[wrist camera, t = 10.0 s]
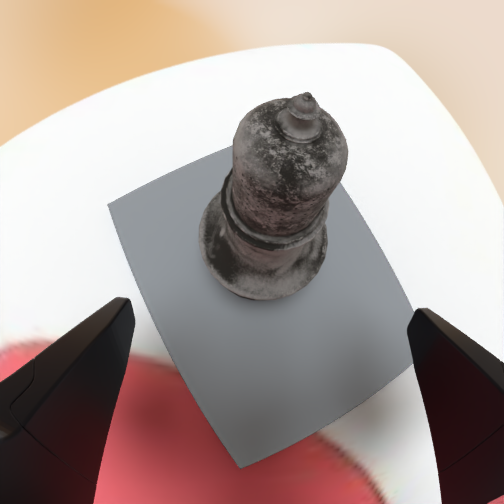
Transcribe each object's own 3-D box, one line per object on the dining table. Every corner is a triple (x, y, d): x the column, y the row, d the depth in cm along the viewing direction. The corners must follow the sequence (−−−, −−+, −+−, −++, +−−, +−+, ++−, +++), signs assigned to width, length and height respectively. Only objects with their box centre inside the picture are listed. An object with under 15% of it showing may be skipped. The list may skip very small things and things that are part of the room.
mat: (426, 347, 16) (430, 348, 15) (239, 466, 13) (240, 469, 13) (295, 125, 19) (296, 122, 19) (109, 206, 17) (107, 204, 17)
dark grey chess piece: (321, 227, 17) (436, 82, 5) (288, 321, 15) (424, 302, 4) (230, 191, 17) (229, 6, 6) (189, 281, 16) (86, 167, 4)
